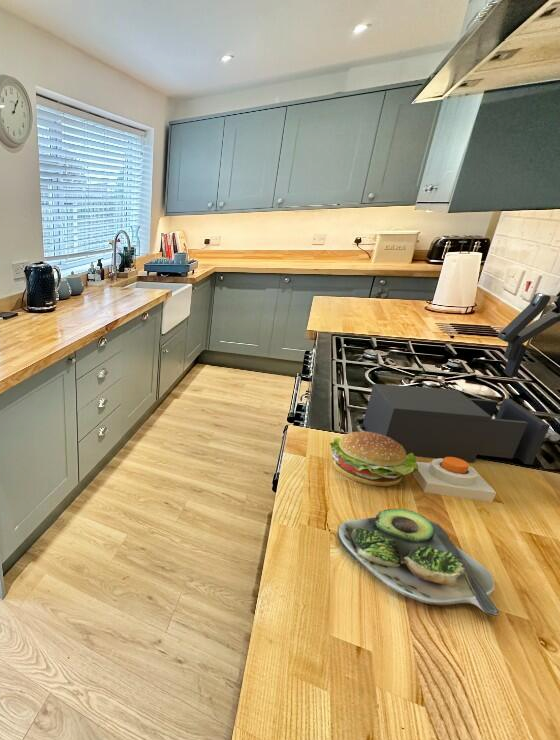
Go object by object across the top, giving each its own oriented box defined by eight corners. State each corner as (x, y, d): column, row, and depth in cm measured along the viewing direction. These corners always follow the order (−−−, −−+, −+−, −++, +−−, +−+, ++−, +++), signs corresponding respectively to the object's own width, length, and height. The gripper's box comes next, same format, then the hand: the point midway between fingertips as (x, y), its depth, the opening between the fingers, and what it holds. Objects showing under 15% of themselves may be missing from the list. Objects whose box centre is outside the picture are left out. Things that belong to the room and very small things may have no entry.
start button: (460, 465, 81) (463, 458, 80) (470, 476, 78) (473, 468, 77) (437, 463, 82) (440, 455, 81) (445, 473, 79) (448, 465, 78)
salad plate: (547, 616, 55) (562, 591, 54) (422, 633, 54) (433, 608, 53) (416, 519, 73) (423, 497, 72) (320, 530, 72) (325, 508, 70)
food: (335, 486, 83) (344, 452, 80) (321, 450, 95) (328, 419, 92) (421, 499, 78) (434, 463, 75) (394, 459, 90) (404, 426, 87)
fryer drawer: (521, 436, 93) (536, 400, 90) (561, 468, 82) (580, 428, 79) (416, 426, 100) (427, 392, 97) (440, 454, 89) (453, 416, 86)
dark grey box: (442, 431, 99) (457, 389, 95) (473, 463, 87) (492, 416, 83) (362, 423, 105) (373, 383, 100) (381, 452, 93) (394, 408, 88)
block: (469, 477, 83) (476, 460, 81) (492, 502, 76) (500, 484, 75) (408, 469, 86) (413, 453, 85) (424, 492, 80) (430, 475, 78)
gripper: (518, 271, 76) (482, 379, 84) (729, 267, 66) (666, 389, 74) (496, 266, 82) (464, 366, 90) (686, 262, 73) (632, 374, 81)
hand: (555, 377), depth 82 cm, fingers open, 13 cm apart
